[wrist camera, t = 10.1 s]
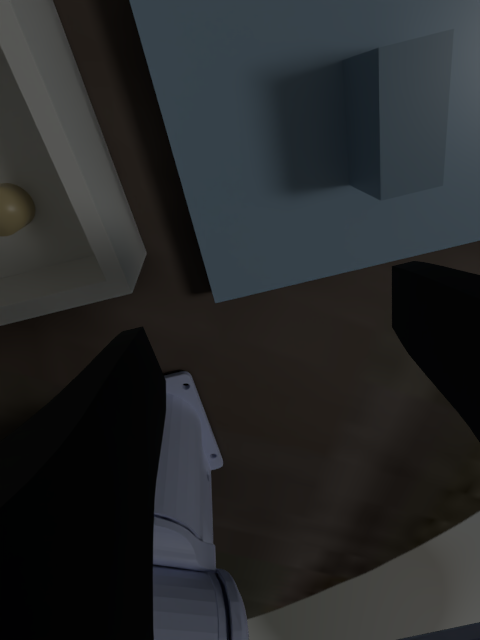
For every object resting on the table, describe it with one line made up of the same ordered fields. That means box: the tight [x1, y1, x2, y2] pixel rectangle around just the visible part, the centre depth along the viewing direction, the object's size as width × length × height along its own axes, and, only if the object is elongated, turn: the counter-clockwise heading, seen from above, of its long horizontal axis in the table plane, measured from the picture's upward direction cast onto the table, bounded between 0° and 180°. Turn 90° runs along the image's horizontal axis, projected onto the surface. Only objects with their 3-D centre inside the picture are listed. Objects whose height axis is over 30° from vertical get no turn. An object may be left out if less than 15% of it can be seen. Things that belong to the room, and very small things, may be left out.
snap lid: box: [129, 0, 480, 303], centre depth 16 cm, size 14×18×6 cm
